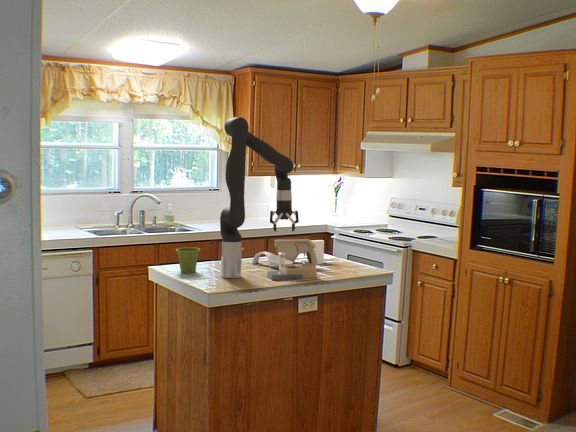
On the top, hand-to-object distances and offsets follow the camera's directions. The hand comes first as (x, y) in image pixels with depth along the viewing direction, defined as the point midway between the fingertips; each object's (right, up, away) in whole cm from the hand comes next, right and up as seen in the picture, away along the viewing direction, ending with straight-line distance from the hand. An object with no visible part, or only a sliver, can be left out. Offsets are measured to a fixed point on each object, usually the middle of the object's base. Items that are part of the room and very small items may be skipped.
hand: (284, 231), depth 297 cm
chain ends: (+4, -22, -11) cm, 25 cm away
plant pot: (-48, -20, -3) cm, 52 cm away
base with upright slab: (+17, -18, +30) cm, 39 cm away
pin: (-1, -21, -1) cm, 21 cm away
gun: (+6, -19, +19) cm, 27 cm away
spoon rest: (-7, -19, +16) cm, 26 cm away
